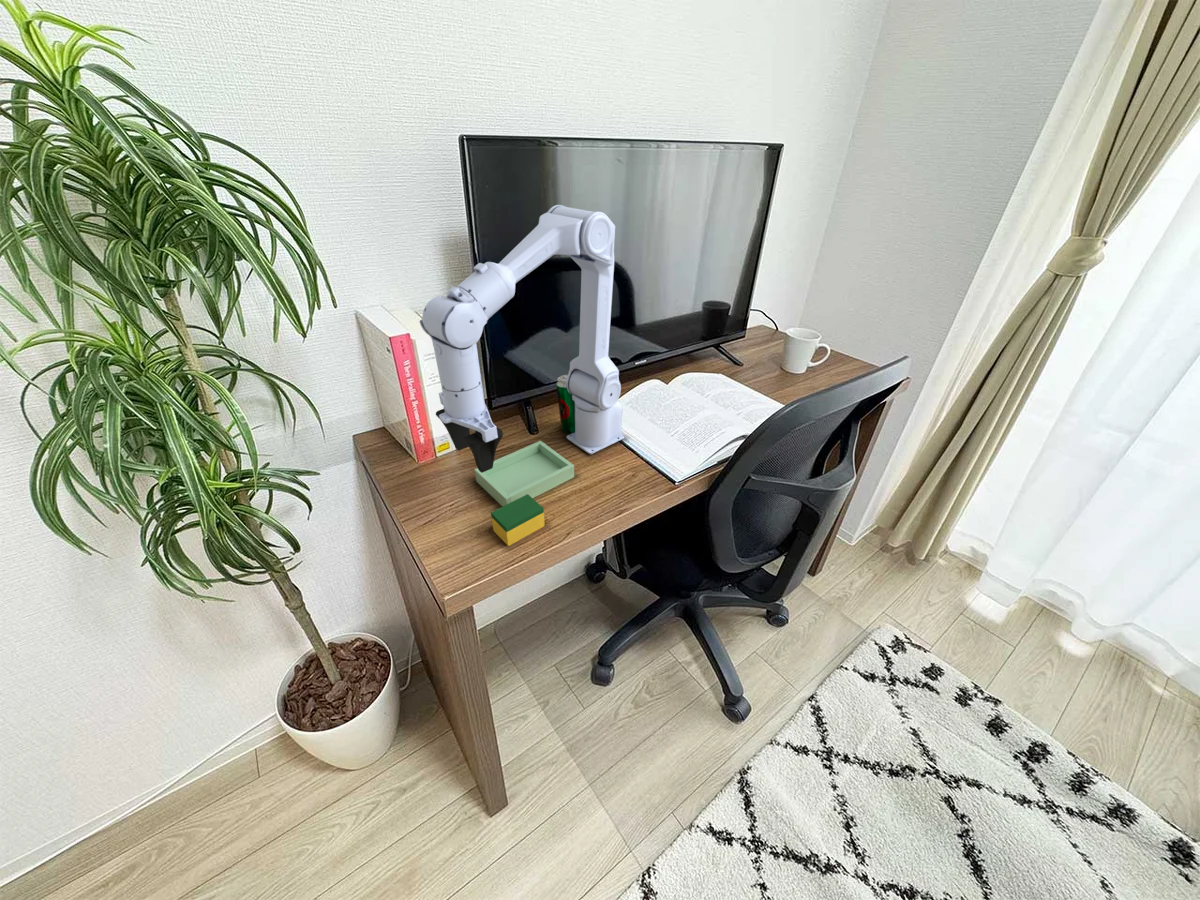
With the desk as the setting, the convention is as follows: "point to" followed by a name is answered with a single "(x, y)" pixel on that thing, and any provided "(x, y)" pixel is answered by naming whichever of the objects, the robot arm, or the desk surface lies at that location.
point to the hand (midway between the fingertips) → (474, 458)
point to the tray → (525, 473)
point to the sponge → (518, 519)
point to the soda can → (565, 406)
